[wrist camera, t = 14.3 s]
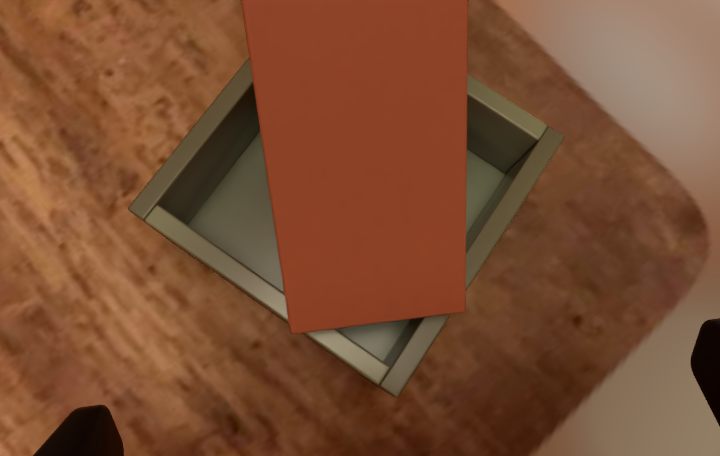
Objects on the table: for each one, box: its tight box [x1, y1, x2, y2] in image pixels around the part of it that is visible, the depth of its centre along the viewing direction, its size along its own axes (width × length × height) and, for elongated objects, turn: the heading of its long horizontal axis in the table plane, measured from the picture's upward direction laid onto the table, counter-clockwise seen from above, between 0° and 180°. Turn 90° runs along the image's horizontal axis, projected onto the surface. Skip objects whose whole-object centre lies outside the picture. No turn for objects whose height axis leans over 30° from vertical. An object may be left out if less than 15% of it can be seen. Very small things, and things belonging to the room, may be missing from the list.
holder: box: [128, 58, 564, 398], centre depth 20 cm, size 9×9×4 cm
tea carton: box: [241, 0, 468, 334], centre depth 15 cm, size 4×6×12 cm
